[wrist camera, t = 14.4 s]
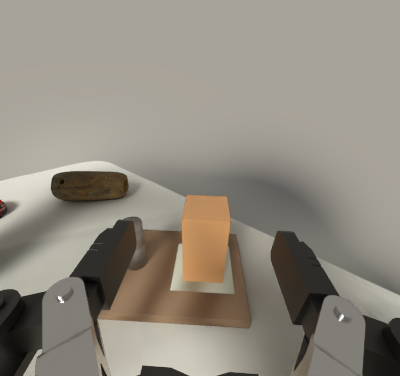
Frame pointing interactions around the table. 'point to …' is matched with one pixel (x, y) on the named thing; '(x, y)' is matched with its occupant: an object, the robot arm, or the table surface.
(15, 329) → the robot arm
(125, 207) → the table surface
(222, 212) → the tall wooden pillar
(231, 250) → the board
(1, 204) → the race car
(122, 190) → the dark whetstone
